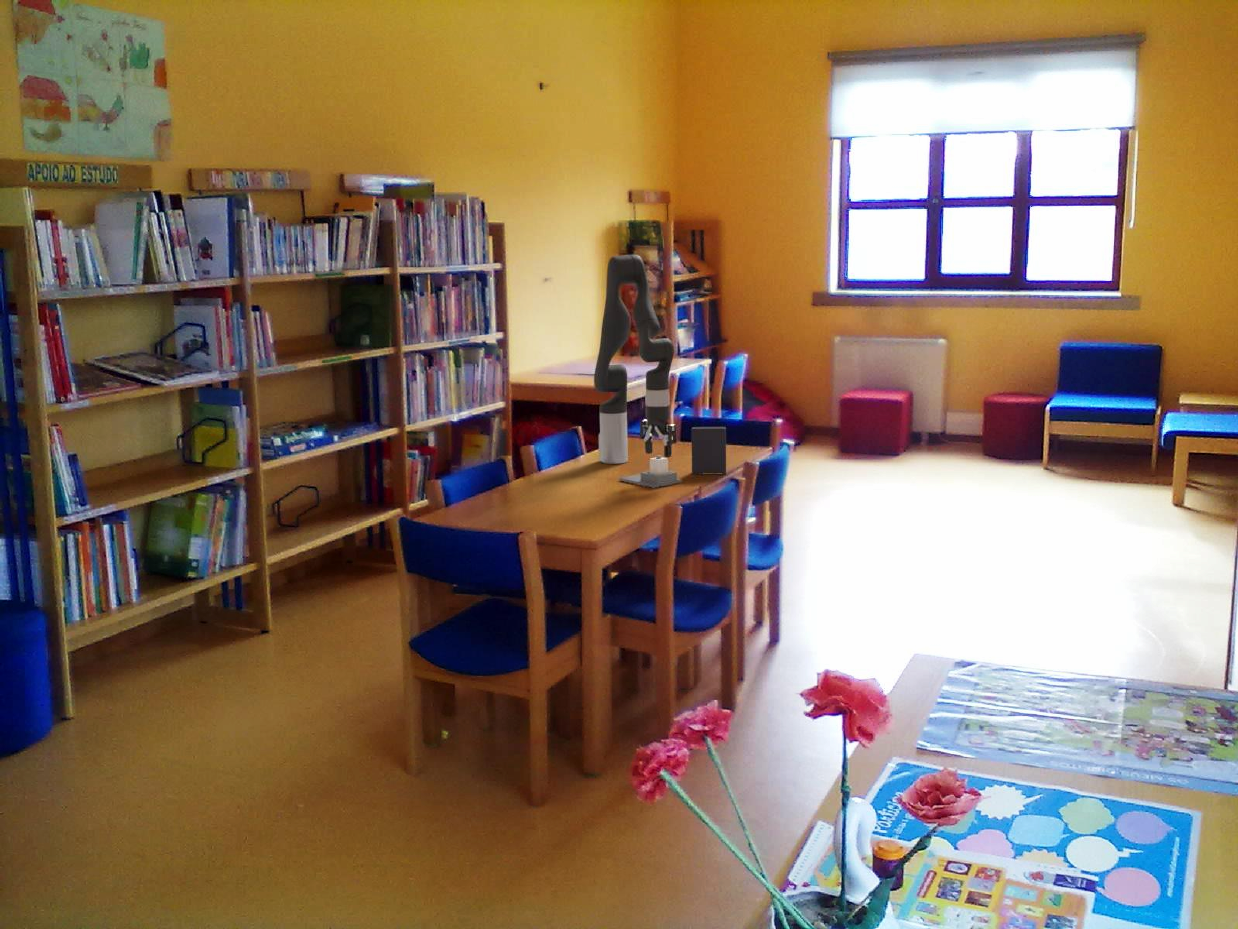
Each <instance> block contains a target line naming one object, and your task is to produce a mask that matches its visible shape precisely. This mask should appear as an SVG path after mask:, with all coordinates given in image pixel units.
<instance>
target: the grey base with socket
mask: <svg viewBox="0 0 1238 929" xmlns="http://www.w3.org/2000/svg"><path fill="white" fill-rule="evenodd" d="M677 473H678V472H677V471H672V470H668V473H667V474H662V475H654V474H650V470H648V471H642V472H640V473H637V474H632V475H629V476H628V475H627V476H622V477H618V478H619V479H618V481H619V480H620V481H619V482H621V481H624V482H623V483H626V482H629V483H628V484H631V483H635V484H639V485H638V486H640V485H643V486H642V487H645V486H649V487H652V488H651V489H656V488H655V487H657V488H660V487H659V486H662V487H666V486H671V485H676V483H677V484H679V483H680V484H682V478H678V474H677ZM635 484H634V485H635ZM649 487H648V488H649Z"/></svg>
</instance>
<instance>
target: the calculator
mask: <svg viewBox="0 0 1238 929" xmlns="http://www.w3.org/2000/svg"><path fill="white" fill-rule="evenodd" d="M690 432H691V433H690V434H691V474H692V475H704V474H703V473H722V474H721V475H726V474H727V428H726V426H698V427H697V426H694V427H693V426H692V428H691V430H690Z"/></svg>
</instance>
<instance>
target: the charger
mask: <svg viewBox="0 0 1238 929" xmlns="http://www.w3.org/2000/svg"><path fill="white" fill-rule="evenodd" d="M668 458H669V457H668ZM668 458H666V457H664V456H662V455H657V454H656V455H655V457H651V458H649V471H650V474H654V475H662V474H667V473H668V471H669V459H668Z"/></svg>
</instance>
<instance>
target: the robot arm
mask: <svg viewBox="0 0 1238 929" xmlns="http://www.w3.org/2000/svg"><path fill="white" fill-rule="evenodd" d="M606 271H607V272H606V291H605V302H604V303H605V304H604V308H603V310H604V311H603V318H602V322H601V332H600V343H599V344H600V345H599V351H598V355H597V360H596V364H595V367H594V368H595V369H594V376H593V383H594V384H593V385H594V388H595V390H596V391H597V392H598V393H606V394H607V393H614V395H612V397H611V398H609V399H608V400H605V401H603V402H601V403H600V404H599V430H600V431H599V433H598V461H600V462H601V463H602V462H603V463H602V464H609V465H610V464H611V465H613V464H614V465H615V464H617V465H618V464H625V463H627V462H628V461H629V459H628V456H629V454H628V418H627V417H628V416H627V415H628V412H627V411H628V410H627V406H628V371H627V368H626V366H625V365H624V364H610V363H611V362H612V359H613V358H614V356H615V355H616V354H617V353H618V352H619V351H620V349H622V347H623V346H624V345H625V344H626V342H627V341H628V339H629V337H630V330H631V323H632V319H633V322H634V324H635V327H636V331H637V334H638V341H639V343H638V344H639V345H638V346H639V348H638V349H639V351H638V352H639V356H640V357H641V359H642V361H644V362H645V363H658V364H657V367H655V368H653V369H650V370H648V371H646V374H645V395H644V397H645V399H644V400H645V419H643V420H640V422H639V423H640V425H639V427H640V428H639V439H641V440H643V441H644V450H645V454H647V455H649V454H652V453H653V439H654V437H657V438H659V439H660V440H661V441H662V442H663V444H664V447H663V451H664V452H663V458H671V457H672V452H673V451H672V450H673V449H672V448H673V447H672V446H673V445H674V444H675V445H676V444H677V443H678V441H677V440H678V439H677V425H676V424H675V423H673V424H672V423H671V424H669V419H670V418H671V401H670V400H671V397H670V391H669V390H670V389H669V388H670V385H669V384H670V381H669V380H670V378H669V377H670V373H671V368H672V363H673V359H674V354H675V346H674V344H673V343H674V342H672V340H670V338H668V337H667V338H666V337H665V338H663V337H661V338H655V337H657V336H659V334H660V332H661V325H660V322H659V319H658V317H657V314H656V311H655V309H654V305H653V302H652V298H651V297H652V296H651V291H650V286H649V281H648V277H647V271H646V266H645V264H644V261H643V259H642V257H641V256H639V255H638V254H626V255H625V254H624V255H614V256H612V257H610V259H608V263H607V268H606ZM624 285H635V286H636V288H637V293H636V294H637V295H636V298H635V301H634V304H633V307H632V317H631V315H630V312H629V310H628V308H627V307H626V305H625V303H624V302H623V300H622V298H621V295H620V288H621V286H624Z"/></svg>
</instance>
